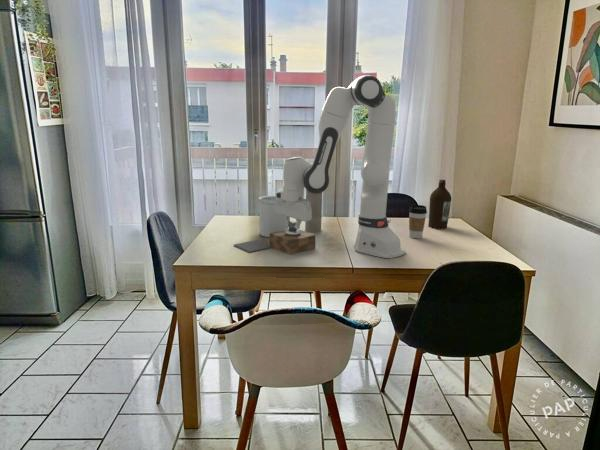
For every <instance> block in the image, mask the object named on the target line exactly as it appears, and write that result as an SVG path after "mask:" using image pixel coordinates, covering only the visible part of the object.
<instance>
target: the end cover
mask: <svg viewBox="0 0 600 450" xmlns="http://www.w3.org/2000/svg"><path fill="white" fill-rule="evenodd" d="M296 223H297V221H290V222H289V227H288V229H287V230H285V235H288V236H299V235H300V230H301V229H299V230H298V229H295V228H294V225H295V224H296Z"/></svg>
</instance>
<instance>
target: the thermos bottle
mask: <svg viewBox="0 0 600 450" xmlns="http://www.w3.org/2000/svg"><path fill="white" fill-rule="evenodd" d="M305 190H306V191H305V199H308V200H309V202H310V204H311V210H312V219H311V220H310V221H306V222H305V221H304V222H305V226H304V231H305V232H308V233H318V232H321V231H322V214H323V213H322V211H323V192H321V193H318V194H314V193H311V192H309V191H308V190H307V189H306V188H305Z"/></svg>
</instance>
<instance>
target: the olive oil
mask: <svg viewBox="0 0 600 450" xmlns="http://www.w3.org/2000/svg"><path fill="white" fill-rule="evenodd" d="M446 182H447V181H446V179H439V180H438V187H436V189H435V190H433V191H432V192H431V194H430V196H429V206H428V207H429V209H428V210H429V212H428V225H427V226H428V228H430V227H431V229H434V228H435V229H434V230H445V229H447V228H448V222H449V217H450V209H451V205H452V194H451V193H450V192H449V190H448V189H447V188H446V185H447V184H446Z"/></svg>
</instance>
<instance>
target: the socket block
mask: <svg viewBox="0 0 600 450" xmlns="http://www.w3.org/2000/svg"><path fill="white" fill-rule="evenodd" d="M298 230H300V235H299V236H288V235H285V230H283V231H278V232H273V233H270V237H269V245H271V246H273V249H276V250H278V251H281V252H283V253H286V254H288V255H295V254H298V253H303V252H306V251H310V250H314V249H316V242H317V241H316V239H317V238H316V237H317V236H316V234H314V233H312V232H309V231H306V230H302V229H300V228H299V229H298Z"/></svg>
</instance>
